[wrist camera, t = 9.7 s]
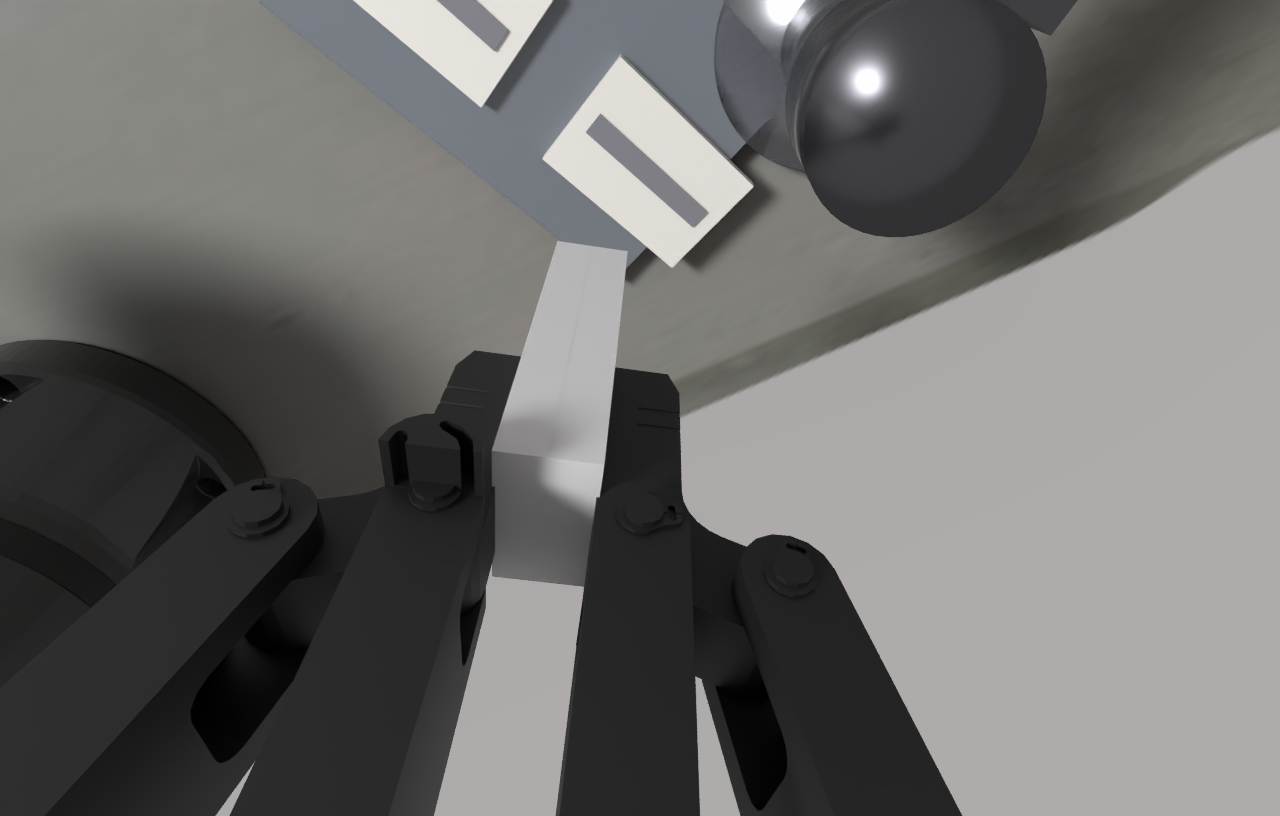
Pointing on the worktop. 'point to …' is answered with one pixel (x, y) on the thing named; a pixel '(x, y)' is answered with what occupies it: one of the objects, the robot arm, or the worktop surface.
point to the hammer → (917, 106)
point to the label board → (567, 103)
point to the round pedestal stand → (781, 20)
